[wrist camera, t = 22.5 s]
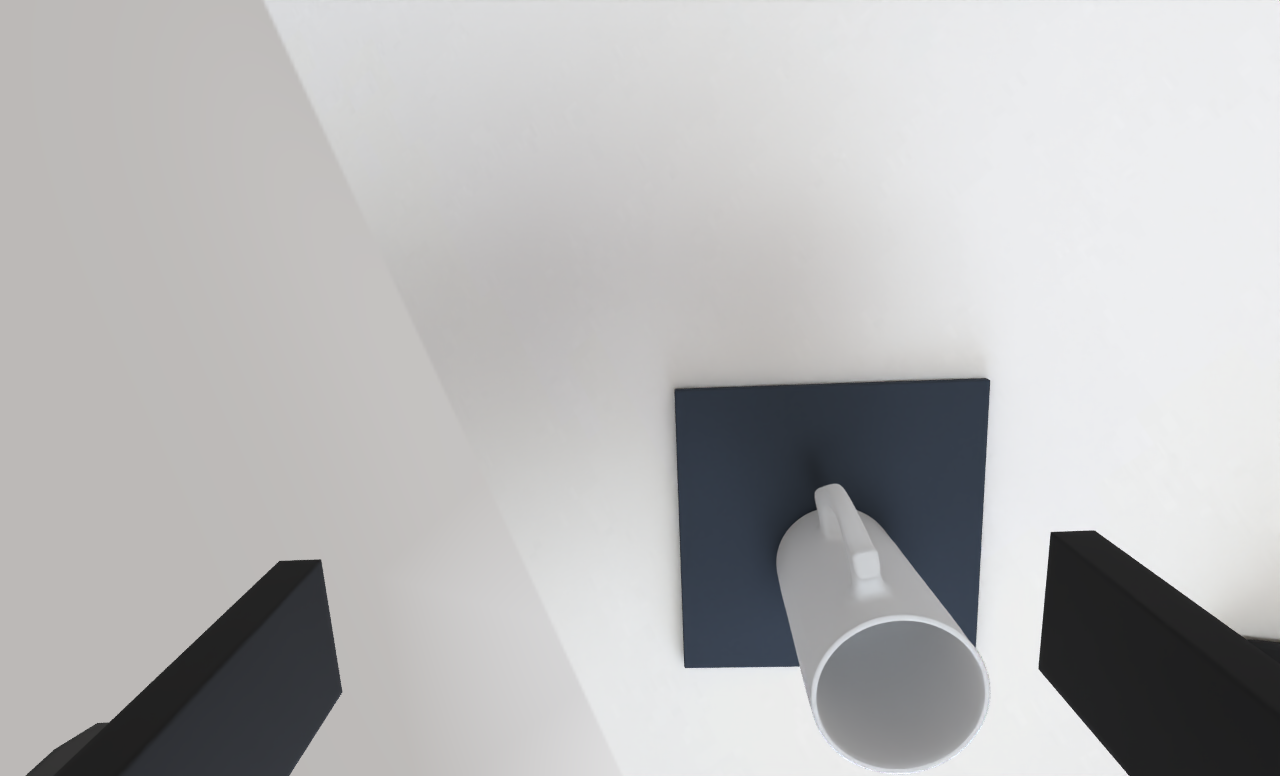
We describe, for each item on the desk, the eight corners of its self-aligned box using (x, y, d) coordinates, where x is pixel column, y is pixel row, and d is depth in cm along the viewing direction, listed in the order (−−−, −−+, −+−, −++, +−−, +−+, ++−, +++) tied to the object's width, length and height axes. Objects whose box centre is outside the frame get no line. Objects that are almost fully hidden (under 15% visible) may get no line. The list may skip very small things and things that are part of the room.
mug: (907, 604, 40) (1003, 758, 28) (785, 628, 41) (829, 788, 29) (873, 429, 38) (962, 517, 26) (746, 458, 39) (777, 555, 27)
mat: (684, 663, 42) (684, 668, 42) (674, 388, 39) (674, 390, 38) (971, 659, 41) (975, 664, 41) (986, 378, 38) (990, 380, 37)
